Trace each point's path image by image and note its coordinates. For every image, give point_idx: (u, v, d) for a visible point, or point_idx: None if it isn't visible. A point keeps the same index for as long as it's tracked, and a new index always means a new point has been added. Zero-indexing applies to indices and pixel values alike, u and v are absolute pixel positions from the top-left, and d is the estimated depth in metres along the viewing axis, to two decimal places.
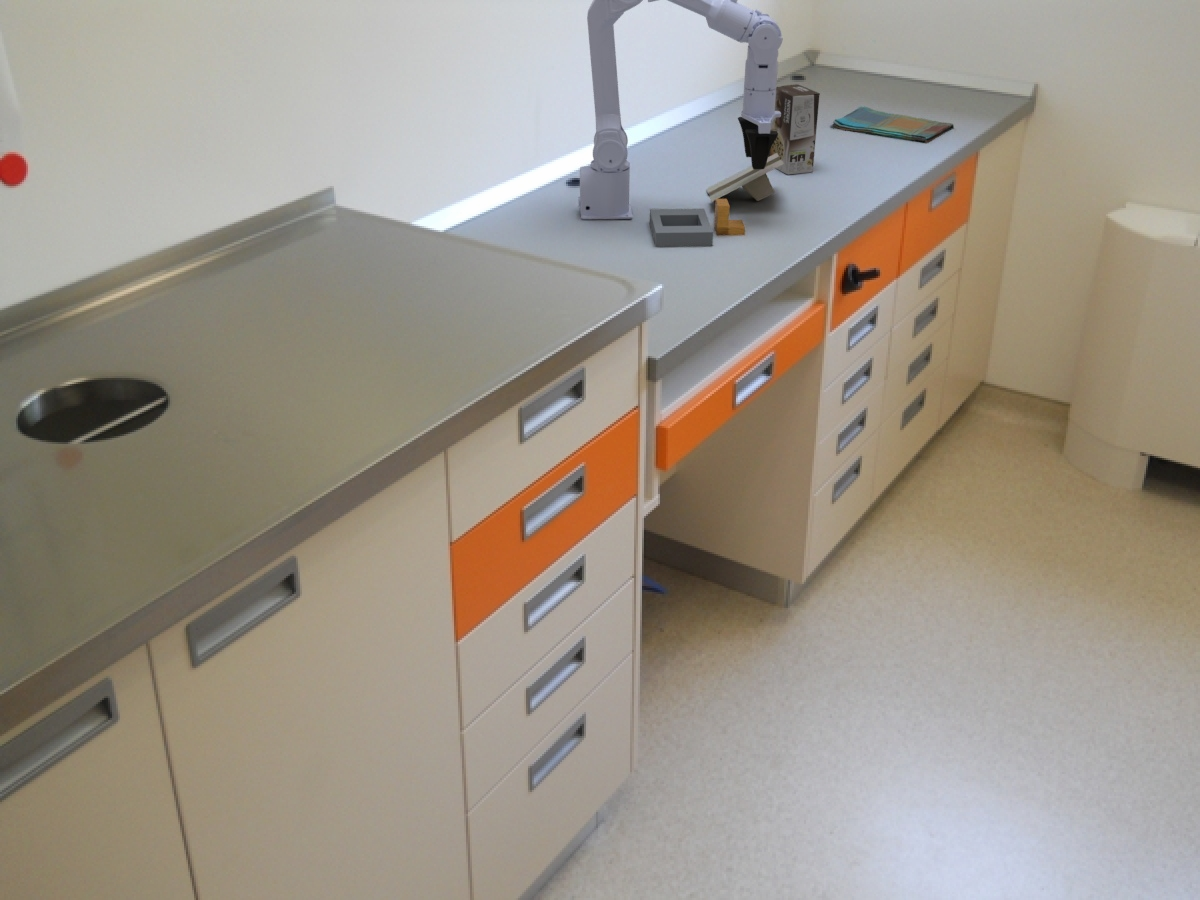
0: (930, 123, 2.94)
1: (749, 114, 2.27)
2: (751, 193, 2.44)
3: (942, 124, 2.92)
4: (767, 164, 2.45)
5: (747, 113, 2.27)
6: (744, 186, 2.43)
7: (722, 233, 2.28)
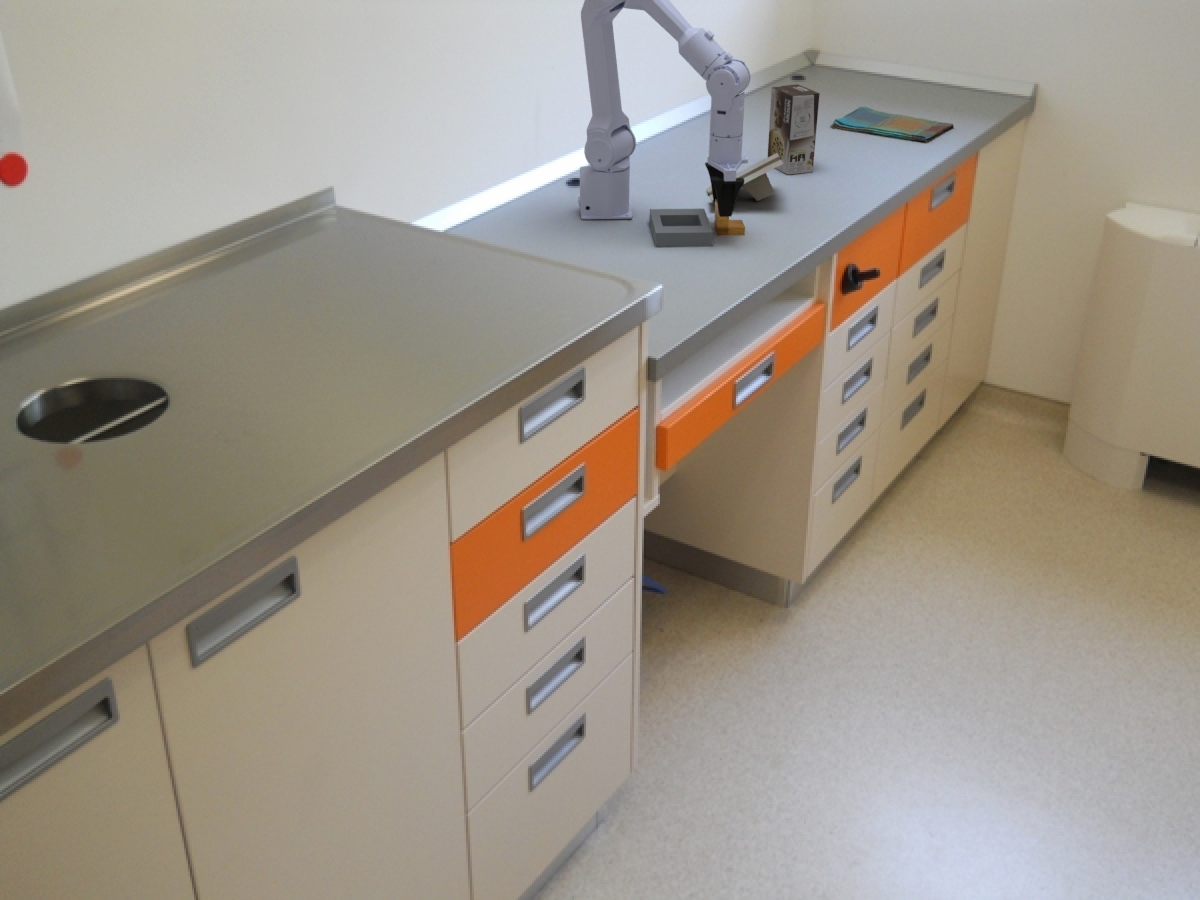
0: (930, 123, 2.94)
1: (715, 161, 2.21)
2: (751, 193, 2.44)
3: (942, 124, 2.92)
4: (767, 164, 2.46)
5: (713, 160, 2.22)
6: (744, 186, 2.43)
7: (722, 233, 2.28)
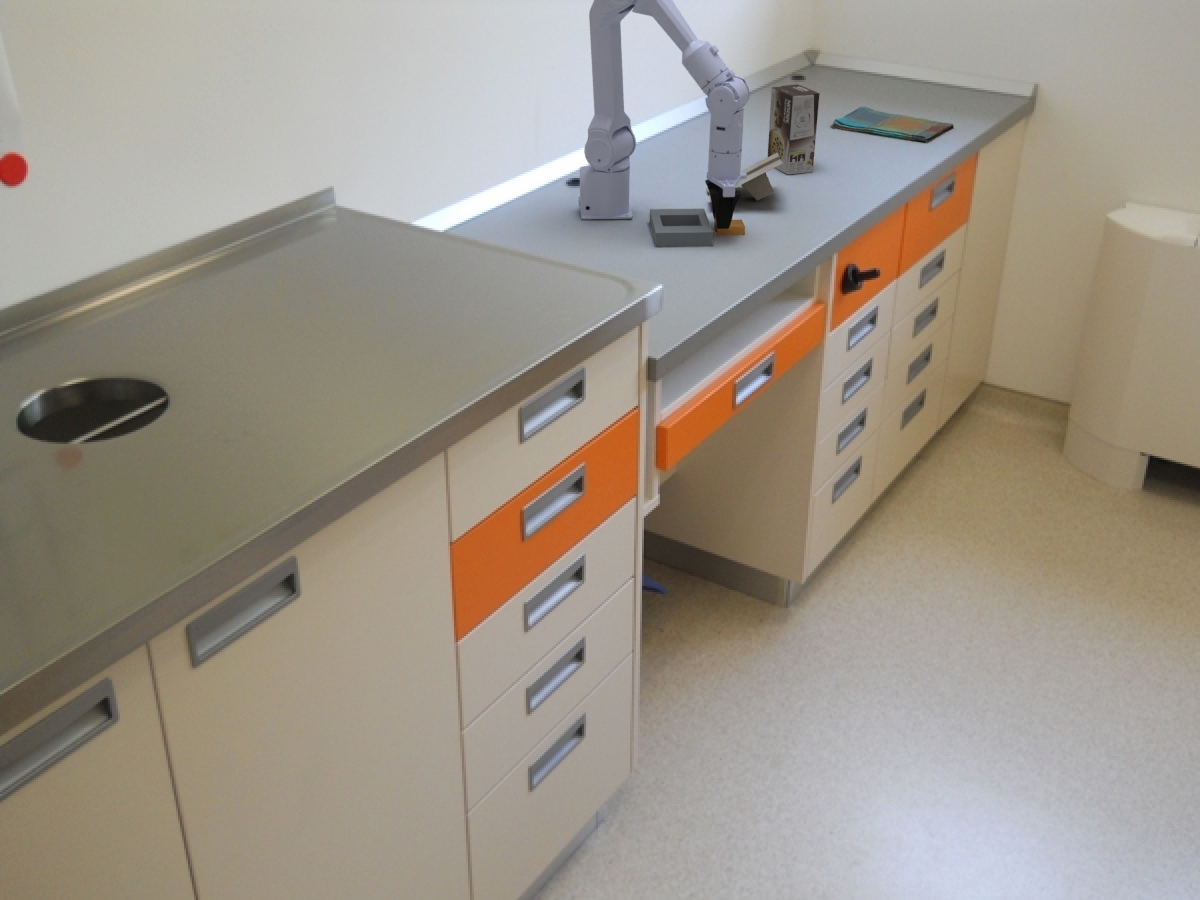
0: (930, 123, 2.94)
1: (714, 176, 2.23)
2: (750, 192, 2.44)
3: (942, 124, 2.92)
4: (767, 164, 2.46)
5: (712, 175, 2.23)
6: (743, 185, 2.43)
7: (722, 233, 2.28)
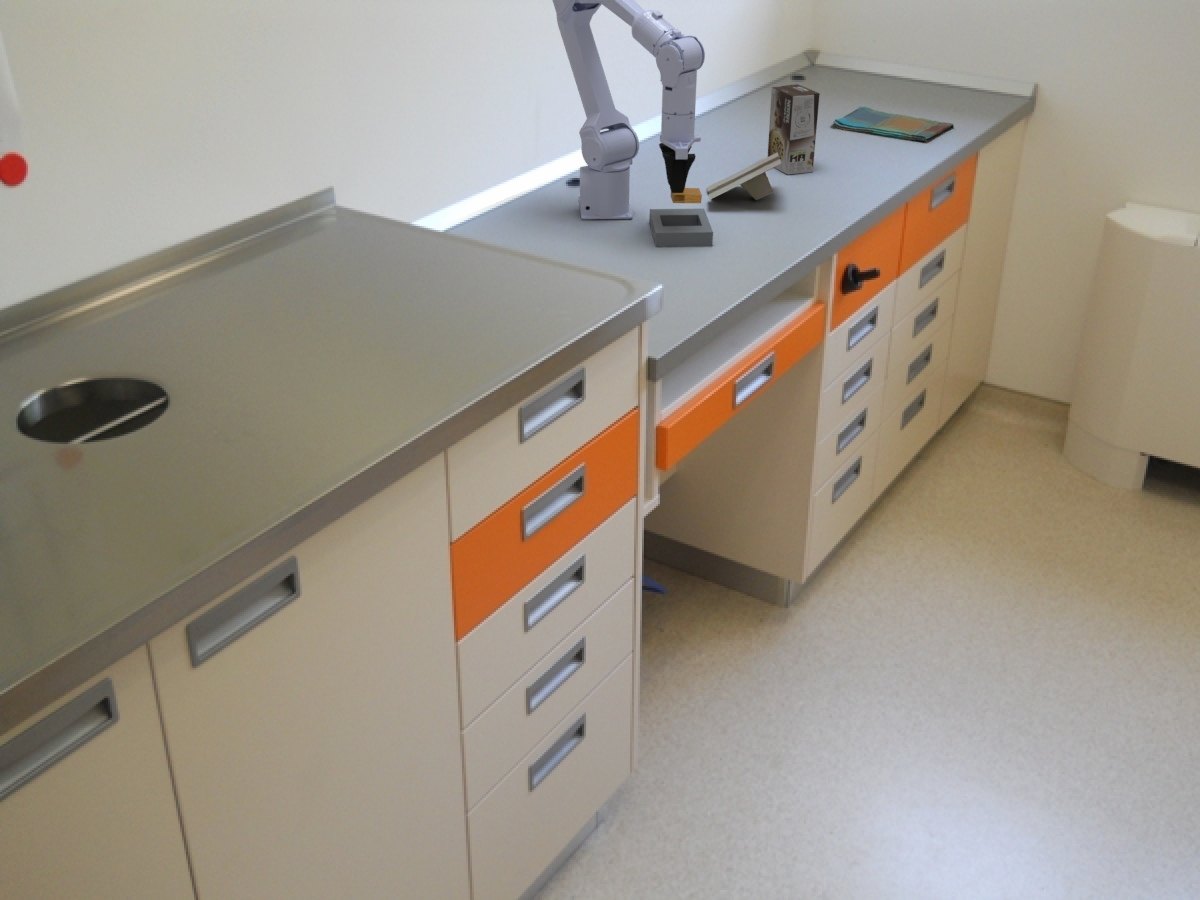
0: (930, 123, 2.94)
1: (667, 139, 2.18)
2: (750, 192, 2.44)
3: (942, 124, 2.92)
4: (767, 163, 2.46)
5: (665, 138, 2.18)
6: (743, 185, 2.44)
7: (678, 201, 2.24)
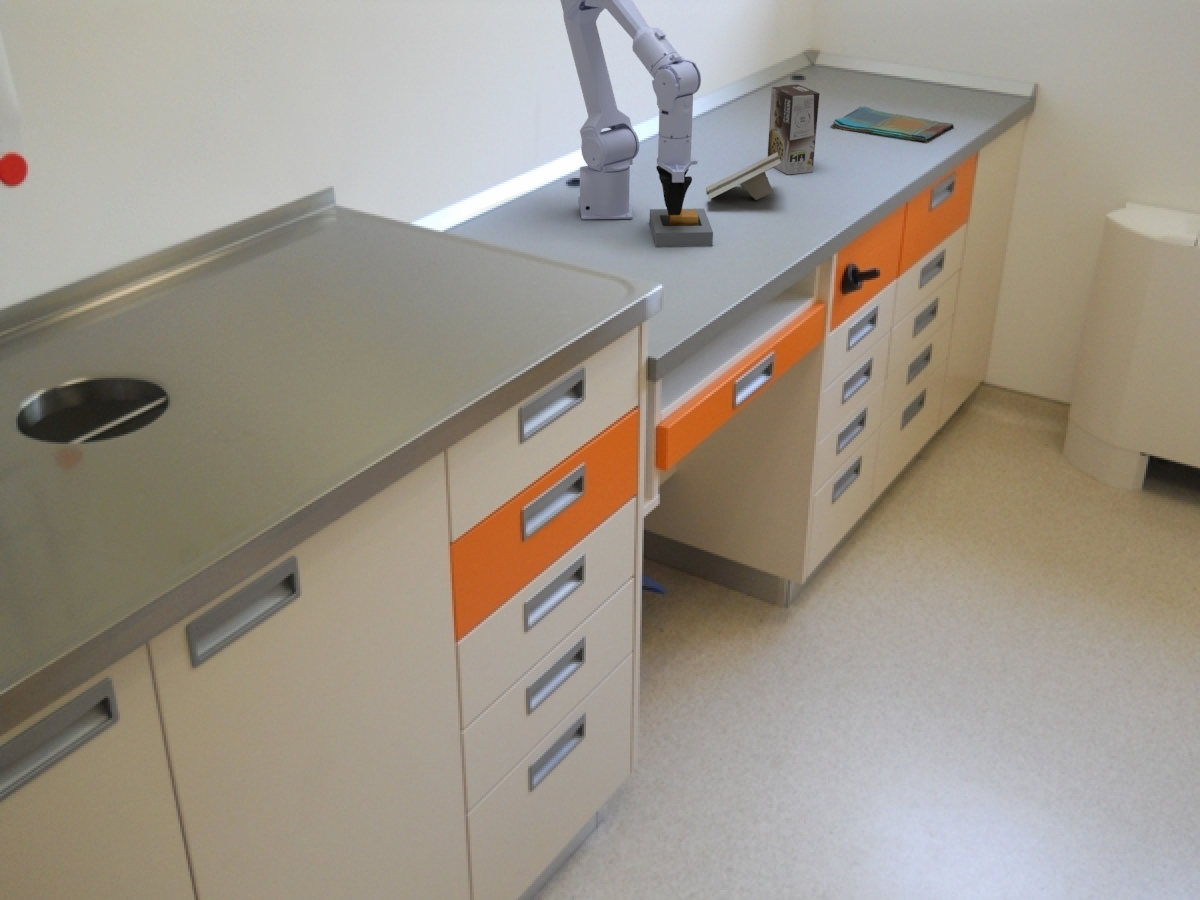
0: (930, 123, 2.94)
1: (664, 162, 2.20)
2: (749, 192, 2.44)
3: (942, 124, 2.92)
4: (766, 163, 2.46)
5: (662, 161, 2.20)
6: (742, 185, 2.44)
7: (675, 223, 2.25)
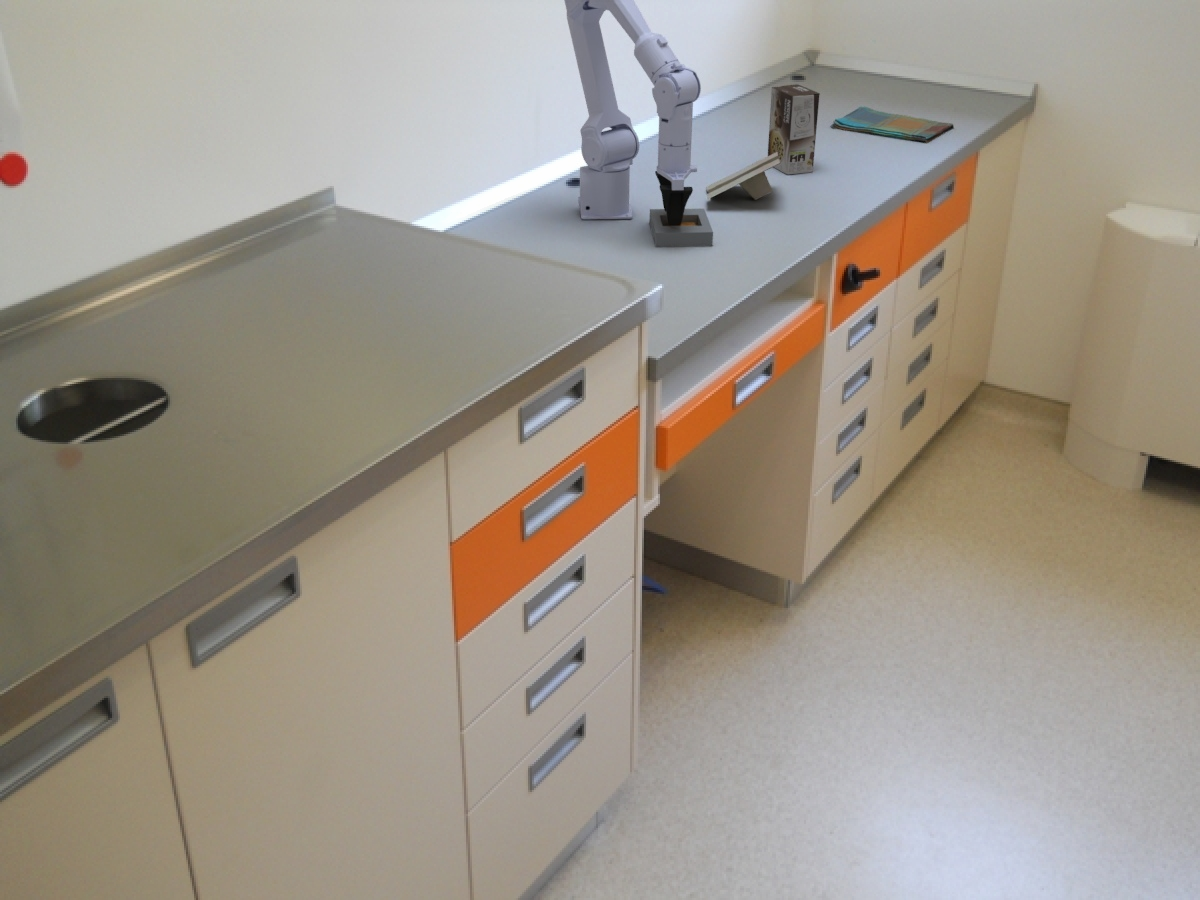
0: (930, 123, 2.94)
1: (663, 169, 2.21)
2: (749, 191, 2.44)
3: (942, 124, 2.92)
4: (766, 163, 2.46)
5: (662, 168, 2.21)
6: (742, 184, 2.44)
7: None
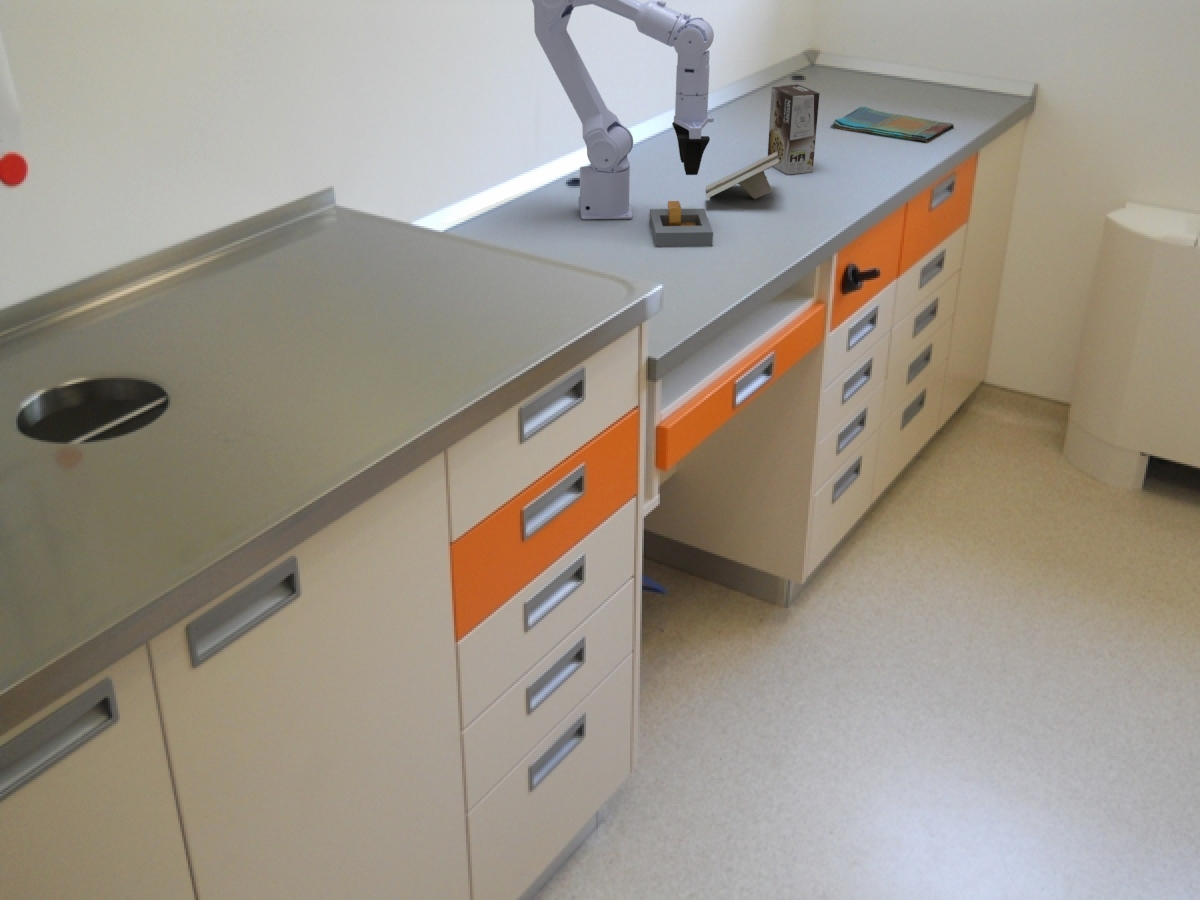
0: (930, 123, 2.94)
1: (681, 119, 2.23)
2: (748, 191, 2.45)
3: (942, 124, 2.92)
4: (766, 162, 2.46)
5: (679, 118, 2.24)
6: (741, 184, 2.44)
7: None
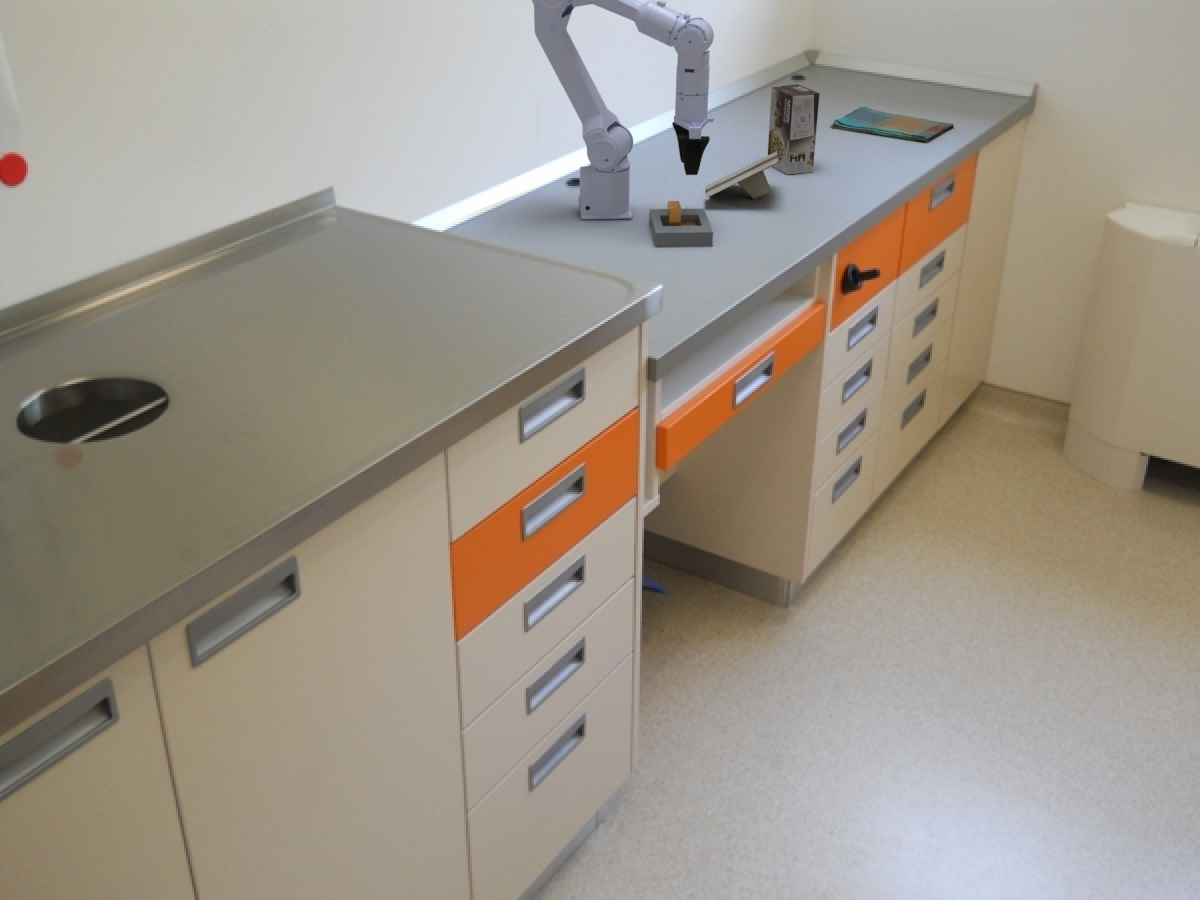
0: (930, 123, 2.94)
1: (681, 119, 2.23)
2: (747, 191, 2.45)
3: (942, 124, 2.92)
4: (765, 162, 2.46)
5: (679, 118, 2.24)
6: (740, 183, 2.44)
7: None
